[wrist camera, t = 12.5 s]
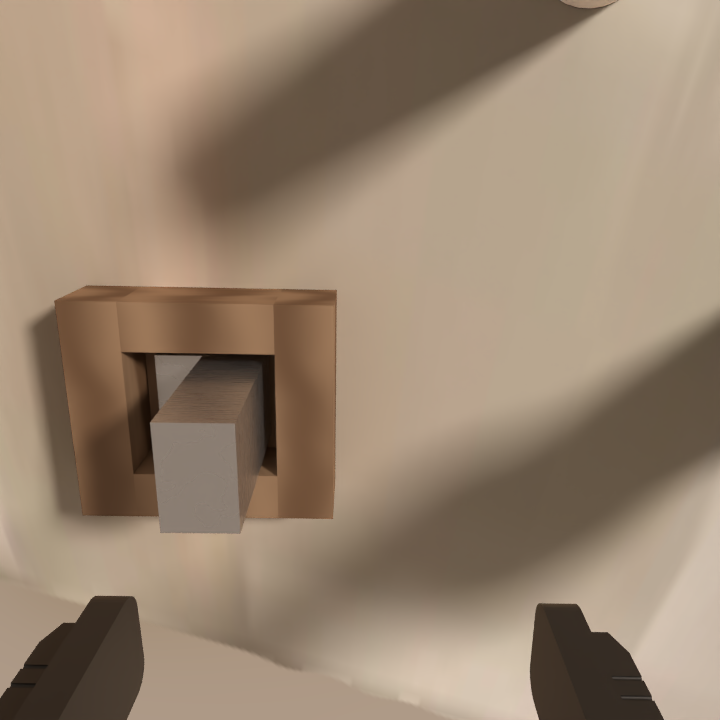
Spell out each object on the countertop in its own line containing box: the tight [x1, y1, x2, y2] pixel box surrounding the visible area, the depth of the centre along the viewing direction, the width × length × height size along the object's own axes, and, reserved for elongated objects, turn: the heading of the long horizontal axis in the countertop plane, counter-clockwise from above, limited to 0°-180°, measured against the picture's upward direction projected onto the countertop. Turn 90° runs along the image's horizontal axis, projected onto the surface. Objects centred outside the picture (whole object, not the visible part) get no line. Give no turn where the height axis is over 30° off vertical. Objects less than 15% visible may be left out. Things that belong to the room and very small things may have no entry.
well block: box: [54, 286, 337, 519], centre depth 40 cm, size 16×14×4 cm
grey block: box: [150, 353, 271, 534], centre depth 36 cm, size 7×6×12 cm
